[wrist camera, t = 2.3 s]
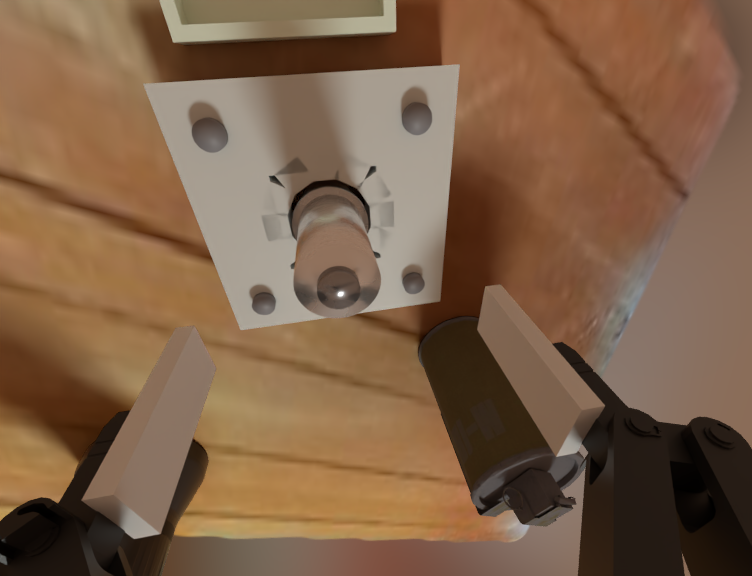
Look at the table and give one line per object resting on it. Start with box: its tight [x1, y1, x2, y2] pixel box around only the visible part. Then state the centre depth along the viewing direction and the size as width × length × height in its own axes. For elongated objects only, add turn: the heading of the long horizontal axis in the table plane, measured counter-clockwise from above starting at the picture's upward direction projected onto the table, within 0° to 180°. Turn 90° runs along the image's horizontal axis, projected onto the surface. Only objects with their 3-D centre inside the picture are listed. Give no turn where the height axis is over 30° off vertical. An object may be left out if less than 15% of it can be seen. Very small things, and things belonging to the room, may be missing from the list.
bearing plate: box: [143, 64, 460, 330], centre depth 27 cm, size 20×20×4 cm
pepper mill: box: [292, 179, 381, 318], centre depth 23 cm, size 6×6×14 cm
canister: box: [418, 316, 584, 526], centre depth 34 cm, size 11×10×20 cm
